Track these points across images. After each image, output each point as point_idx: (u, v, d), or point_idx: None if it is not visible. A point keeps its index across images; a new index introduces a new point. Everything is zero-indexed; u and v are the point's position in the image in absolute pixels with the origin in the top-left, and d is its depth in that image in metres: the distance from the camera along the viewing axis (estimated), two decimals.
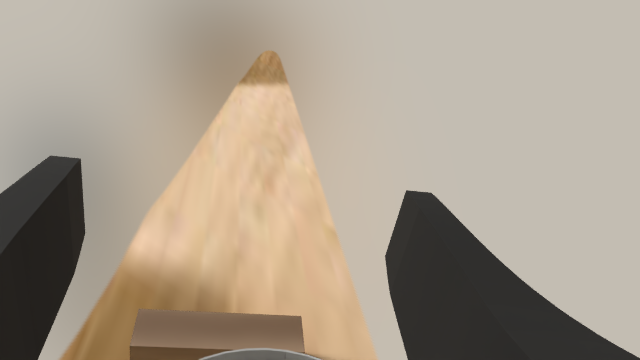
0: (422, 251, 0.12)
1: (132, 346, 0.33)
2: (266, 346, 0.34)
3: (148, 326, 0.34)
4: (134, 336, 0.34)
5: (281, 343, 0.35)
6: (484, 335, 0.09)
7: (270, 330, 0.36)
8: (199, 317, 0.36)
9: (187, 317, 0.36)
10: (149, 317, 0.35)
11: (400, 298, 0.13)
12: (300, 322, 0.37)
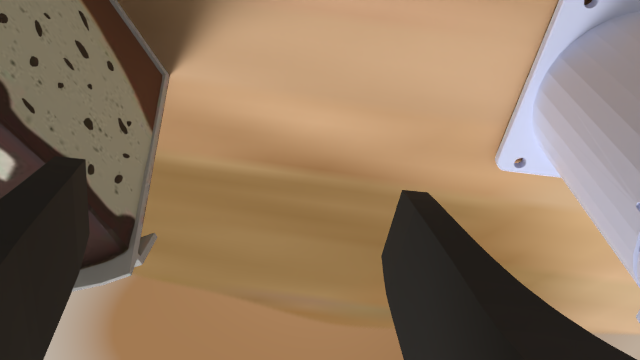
0: (418, 251, 0.12)
1: None
2: None
3: None
4: None
5: None
6: (478, 335, 0.09)
7: None
8: None
9: None
10: None
11: (396, 298, 0.13)
12: None
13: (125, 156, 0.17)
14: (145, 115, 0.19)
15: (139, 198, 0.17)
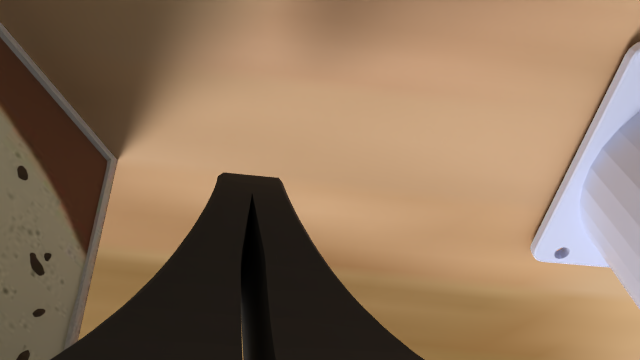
0: (251, 238, 0.11)
1: None
2: None
3: None
4: None
5: None
6: (264, 323, 0.09)
7: None
8: None
9: None
10: None
11: (242, 288, 0.12)
12: None
13: (37, 314, 0.12)
14: (76, 232, 0.14)
15: None
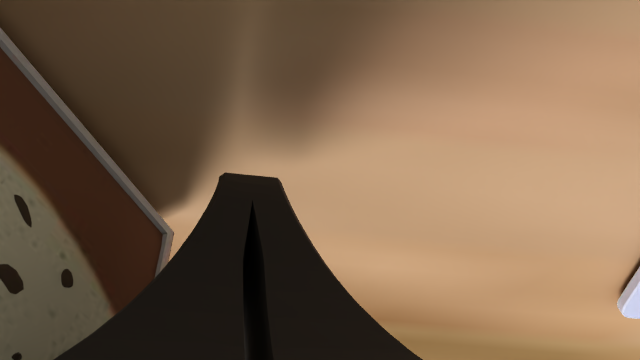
0: (250, 237, 0.11)
1: None
2: None
3: None
4: None
5: None
6: (263, 323, 0.09)
7: None
8: None
9: None
10: None
11: None
12: None
13: None
14: None
15: None
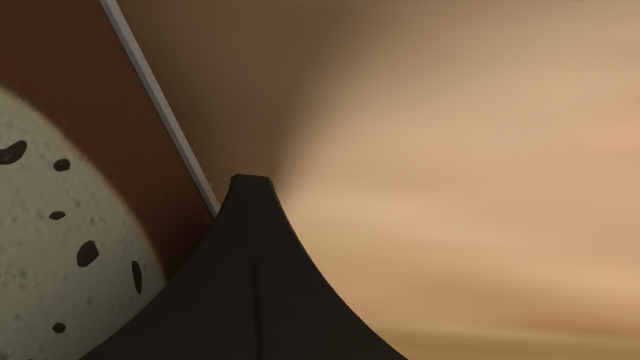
0: None
1: None
2: None
3: None
4: None
5: None
6: None
7: None
8: None
9: None
10: None
11: None
12: None
13: None
14: None
15: None
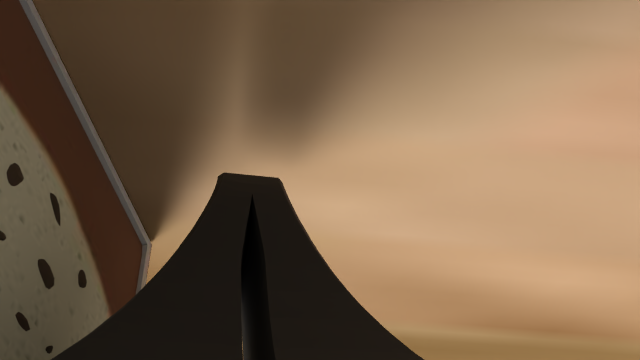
0: (251, 238, 0.11)
1: None
2: None
3: None
4: None
5: None
6: (264, 323, 0.09)
7: None
8: None
9: None
10: None
11: (242, 288, 0.12)
12: None
13: None
14: None
15: None
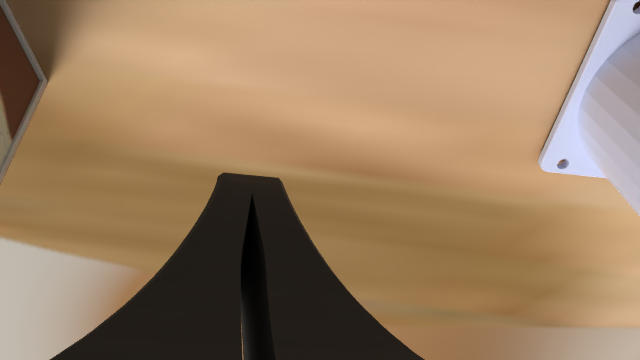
0: (251, 238, 0.11)
1: None
2: None
3: None
4: None
5: None
6: (264, 323, 0.09)
7: None
8: None
9: None
10: None
11: (242, 288, 0.12)
12: None
13: None
14: (8, 122, 0.19)
15: None
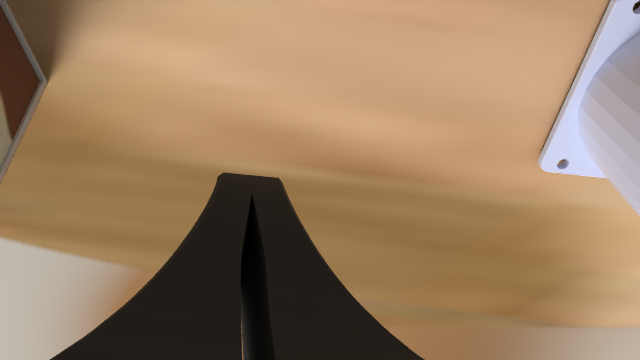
0: (251, 238, 0.11)
1: None
2: None
3: None
4: None
5: None
6: (264, 323, 0.09)
7: None
8: None
9: None
10: None
11: (242, 288, 0.12)
12: None
13: None
14: (8, 122, 0.19)
15: None
